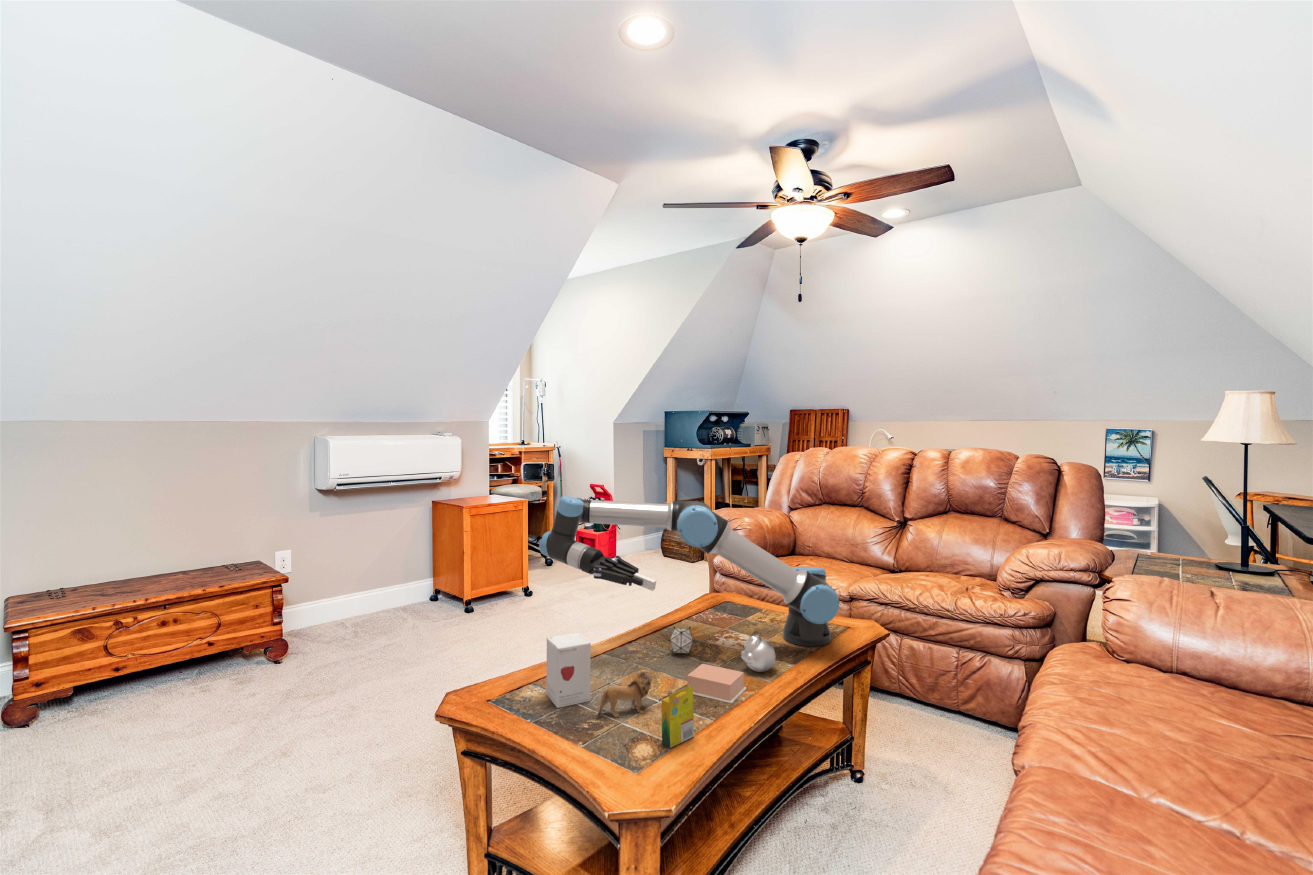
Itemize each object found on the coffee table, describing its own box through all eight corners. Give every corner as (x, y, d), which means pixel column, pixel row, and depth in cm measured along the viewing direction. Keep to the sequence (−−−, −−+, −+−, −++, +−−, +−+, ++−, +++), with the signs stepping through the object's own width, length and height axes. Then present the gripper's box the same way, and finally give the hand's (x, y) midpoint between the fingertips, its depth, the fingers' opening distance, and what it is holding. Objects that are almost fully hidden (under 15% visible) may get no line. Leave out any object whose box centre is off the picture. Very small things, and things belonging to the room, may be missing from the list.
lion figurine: (645, 700, 156) (645, 665, 155) (656, 709, 151) (656, 672, 151) (592, 714, 148) (591, 677, 148) (601, 723, 144) (601, 685, 143)
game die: (685, 664, 189) (703, 635, 191) (684, 664, 181) (702, 634, 183) (661, 646, 191) (679, 618, 193) (659, 646, 183) (677, 616, 185)
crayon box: (685, 732, 140) (685, 680, 139) (694, 737, 137) (694, 684, 137) (660, 743, 135) (660, 690, 135) (669, 748, 133) (669, 694, 132)
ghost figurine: (744, 662, 180) (745, 628, 180) (777, 667, 177) (777, 632, 177) (738, 674, 172) (738, 638, 171) (772, 679, 168) (772, 642, 168)
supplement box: (556, 709, 151) (556, 648, 151) (545, 694, 159) (545, 636, 159) (591, 701, 155) (591, 642, 155) (579, 687, 163) (578, 631, 163)
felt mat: (746, 688, 162) (746, 687, 162) (731, 703, 154) (731, 702, 154) (705, 679, 168) (705, 677, 168) (688, 692, 160) (688, 691, 160)
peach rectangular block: (702, 678, 168) (743, 687, 162) (687, 690, 161) (730, 700, 155) (702, 663, 168) (743, 672, 162) (687, 675, 160) (730, 684, 155)
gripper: (596, 562, 192) (663, 588, 181) (571, 577, 180) (641, 606, 170) (599, 540, 190) (666, 565, 179) (574, 554, 178) (644, 582, 168)
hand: (654, 585), depth 175 cm, fingers closed
